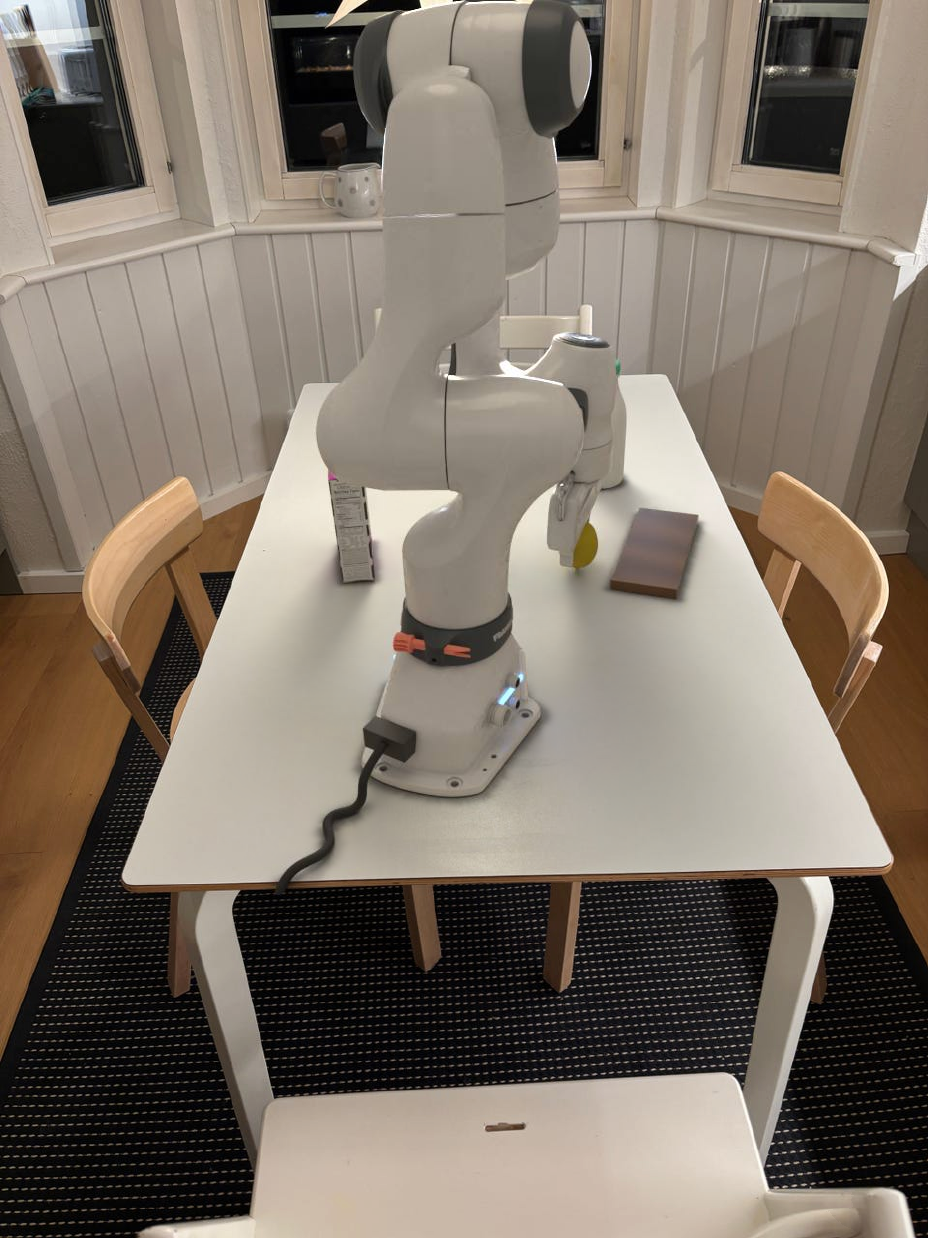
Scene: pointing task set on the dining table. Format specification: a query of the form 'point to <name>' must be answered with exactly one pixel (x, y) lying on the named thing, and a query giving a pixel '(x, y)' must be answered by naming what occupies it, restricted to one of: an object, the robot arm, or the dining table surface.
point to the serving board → (655, 553)
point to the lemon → (586, 547)
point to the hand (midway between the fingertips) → (574, 547)
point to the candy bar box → (352, 530)
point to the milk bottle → (617, 437)
